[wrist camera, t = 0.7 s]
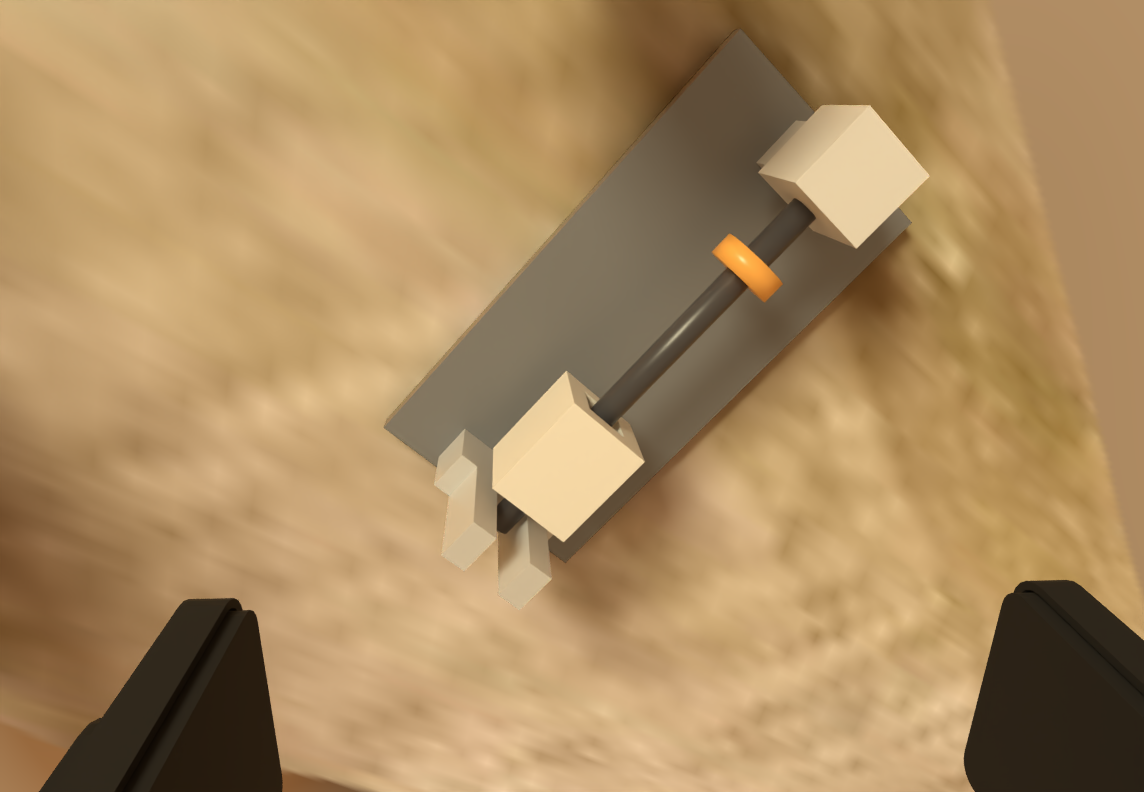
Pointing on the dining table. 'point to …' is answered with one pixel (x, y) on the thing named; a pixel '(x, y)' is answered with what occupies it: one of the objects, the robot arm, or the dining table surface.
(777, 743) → the dining table surface
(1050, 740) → the robot arm
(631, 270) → the board
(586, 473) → the sleeve
